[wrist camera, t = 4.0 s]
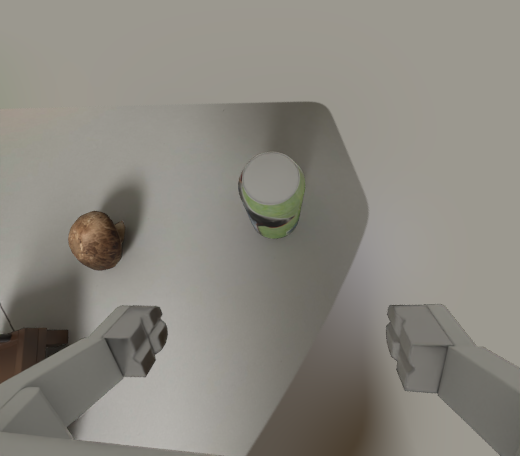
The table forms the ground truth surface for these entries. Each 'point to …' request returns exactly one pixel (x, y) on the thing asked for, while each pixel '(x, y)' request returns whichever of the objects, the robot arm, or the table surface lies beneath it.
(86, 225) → the mushroom
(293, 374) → the table surface
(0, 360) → the tray
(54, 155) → the table surface
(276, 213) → the beverage can
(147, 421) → the table surface
